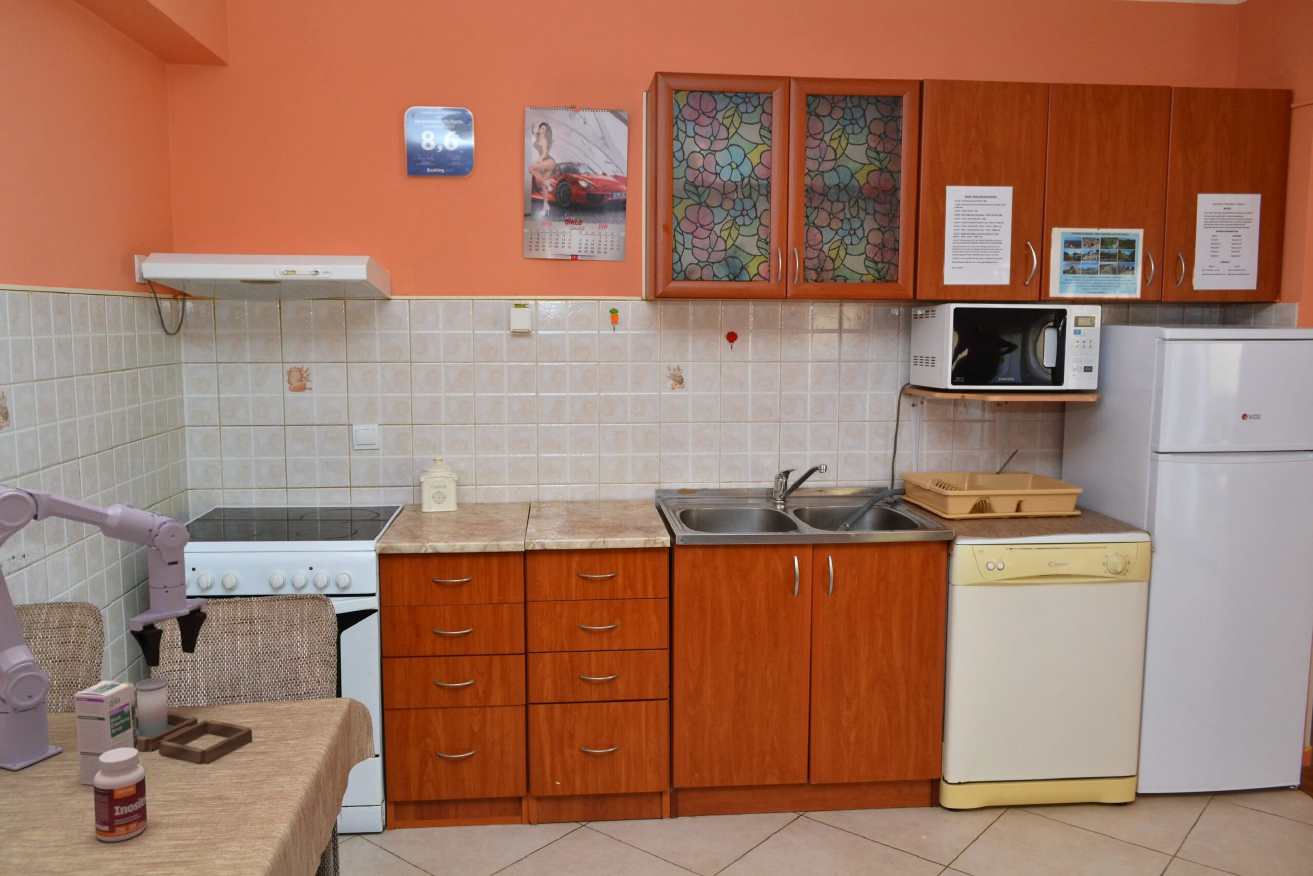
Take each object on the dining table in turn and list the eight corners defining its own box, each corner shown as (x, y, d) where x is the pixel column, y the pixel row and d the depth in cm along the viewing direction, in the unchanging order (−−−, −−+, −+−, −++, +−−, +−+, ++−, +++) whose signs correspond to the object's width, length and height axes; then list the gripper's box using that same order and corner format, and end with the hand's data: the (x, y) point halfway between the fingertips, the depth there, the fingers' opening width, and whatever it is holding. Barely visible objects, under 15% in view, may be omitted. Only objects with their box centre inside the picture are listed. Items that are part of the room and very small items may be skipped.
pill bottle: (118, 847, 127) (114, 768, 126) (85, 838, 129) (80, 760, 128) (158, 825, 132) (154, 749, 131) (125, 817, 135) (121, 742, 134)
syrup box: (112, 788, 143) (107, 695, 142) (78, 784, 144) (73, 692, 143) (140, 771, 149) (135, 681, 147) (107, 768, 150) (102, 678, 148)
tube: (130, 737, 161) (128, 685, 160) (154, 726, 165) (152, 676, 164) (152, 741, 159) (150, 689, 158) (175, 731, 163) (174, 680, 163)
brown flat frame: (102, 742, 159) (102, 731, 159) (155, 720, 169) (155, 709, 169) (205, 765, 151) (204, 753, 151) (254, 739, 161) (254, 728, 161)
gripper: (149, 596, 160) (153, 675, 162) (217, 577, 174) (220, 649, 175) (118, 592, 163) (122, 669, 164) (188, 573, 176) (191, 644, 178)
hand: (171, 659), depth 170 cm, fingers open, 7 cm apart
